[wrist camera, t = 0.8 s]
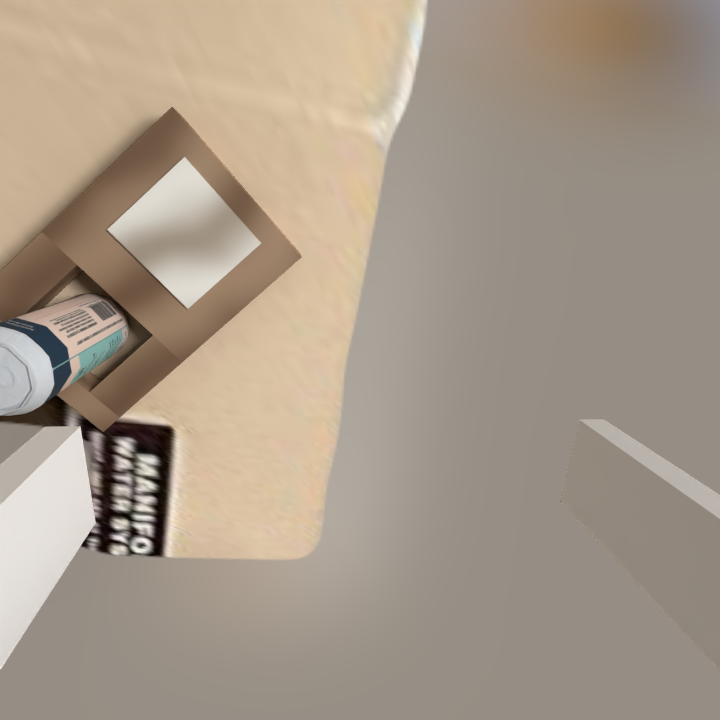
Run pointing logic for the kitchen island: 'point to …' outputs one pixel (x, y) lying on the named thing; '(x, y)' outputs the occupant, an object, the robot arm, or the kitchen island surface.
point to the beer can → (56, 349)
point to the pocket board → (153, 258)
